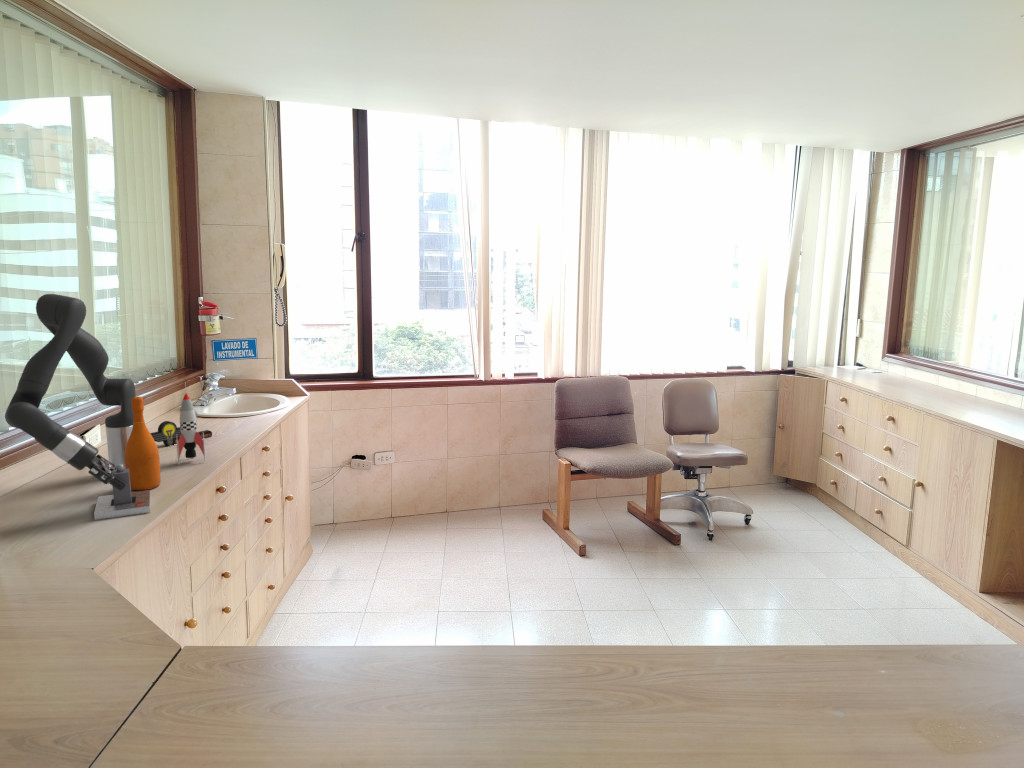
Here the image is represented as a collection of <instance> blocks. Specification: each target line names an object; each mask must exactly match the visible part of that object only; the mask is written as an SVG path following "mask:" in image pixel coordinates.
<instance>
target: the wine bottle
mask: <svg viewBox="0 0 1024 768" xmlns="http://www.w3.org/2000/svg"><path fill="white" fill-rule="evenodd" d="M131 402H132V411H133V412H134V423H133V429H132V432H131V434H130V437H129V439H128V442H127V445H126V449H125V466H126V469H129V474H130V485H131V491H146V490H152V489H154V488H155V489H156V487H158V486H160V484H161V476H162V475H161V461H160V452H159V449H158V445H157V442H156V441H154V439H153V437H152V436H151V434H150V433H151V432H150V431H149V429H148V427H147V425H146V422H145V419H144V410H145V405H144V398H143V397H142V396H136V397H133V398H132V399H131Z"/></svg>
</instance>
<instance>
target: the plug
mask: <svg viewBox="0 0 1024 768" xmlns="http://www.w3.org/2000/svg"><path fill="white" fill-rule="evenodd" d="M116 468H117V470H112V474H113V475H114V476H115V477H116V478H117V479H119V480H120V481H122V482H123V483H125V484H126V486H125V487H124V488H123V489H122V490H119V489H117V488H115V487H114V486H112V495H113V497H114V506H116V505H123V504H131V503H132V496H131V492H132V489H131V485H130V474H129V469H124V468H123V464H118V465H116Z"/></svg>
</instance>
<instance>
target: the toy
mask: <svg viewBox="0 0 1024 768" xmlns="http://www.w3.org/2000/svg"><path fill="white" fill-rule="evenodd" d="M186 385H187V383H186V381H185V382H184V387H185V390H184V391H185V394H184V396H183V398H182V401H181V407H180V411H179V412H180V413H179V427H180V431H181V434H182V435H181V436H180V438H179V441H178V439H177V441H176V443H177V445H176V452H177V465H178V464H180V465H181V460H180V459H181V458H180V457H181V454H182V451H183V449H185V458H186V459H194V458H196V457H197V452H196V448H197V446H198V448H199V449H200V451H201V453H202V454H203V459H204V462H205V461H206V462H207V456H206V444H205V443H206V441H205V439H204V434H203V439H202V438H201V436H200V434H199V433H197V432H198V423H197V421H198V420H197V418H198V416H199V415H198V411H197V410H196V409H195V408H194V406H193V401H192V400H191V398H190V397H189V394H188V392H187V386H186ZM176 437H177V434H176ZM206 462H205V463H206Z"/></svg>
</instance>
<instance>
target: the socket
mask: <svg viewBox="0 0 1024 768" xmlns="http://www.w3.org/2000/svg"><path fill="white" fill-rule="evenodd" d="M131 496H132V503H131V504H123V505H116V506H114V497H113V494H107V495H100V496H97V500H96V504H95V508H94V511H93V516H94V521H100V520H107V519H114V518H120V517H128V516H135V515H141V514H142V515H143V514H147V513H148V514H149V513H151V498H152V497H151V489H147V490H137V491H131ZM106 518H107V519H106Z"/></svg>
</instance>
